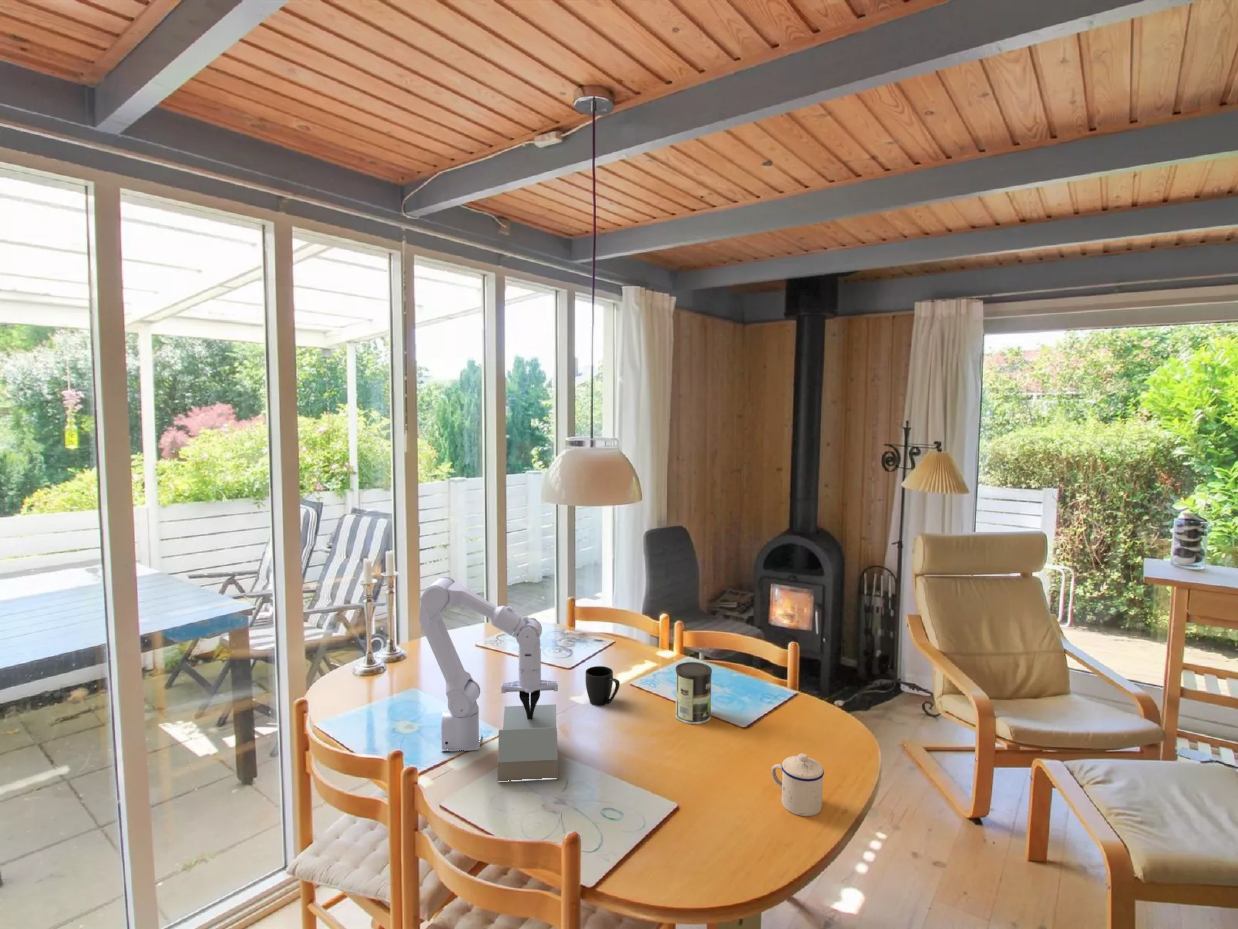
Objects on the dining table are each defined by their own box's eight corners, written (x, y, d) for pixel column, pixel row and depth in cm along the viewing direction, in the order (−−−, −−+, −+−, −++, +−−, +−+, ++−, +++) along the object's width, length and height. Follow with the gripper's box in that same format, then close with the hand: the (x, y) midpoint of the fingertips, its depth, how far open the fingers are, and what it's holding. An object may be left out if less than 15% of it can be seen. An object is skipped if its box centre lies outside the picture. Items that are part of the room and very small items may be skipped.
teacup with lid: (829, 804, 146) (831, 754, 145) (811, 823, 139) (813, 771, 138) (780, 783, 154) (781, 736, 153) (761, 801, 147) (762, 751, 146)
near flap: (498, 761, 153) (498, 762, 152) (498, 729, 154) (498, 730, 154) (556, 758, 154) (556, 759, 154) (556, 727, 156) (556, 727, 155)
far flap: (504, 706, 173) (504, 707, 174) (503, 730, 168) (503, 731, 168) (556, 704, 175) (556, 705, 175) (556, 727, 169) (556, 728, 169)
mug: (607, 715, 188) (607, 683, 187) (579, 701, 196) (579, 671, 196) (627, 706, 194) (627, 675, 193) (599, 693, 202) (600, 663, 201)
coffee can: (712, 709, 192) (712, 663, 191) (709, 726, 182) (710, 677, 181) (677, 706, 194) (677, 660, 193) (672, 722, 184) (673, 674, 183)
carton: (497, 782, 154) (497, 762, 153) (502, 751, 167) (502, 733, 167) (557, 779, 155) (557, 759, 155) (557, 749, 169) (557, 730, 168)
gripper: (500, 674, 164) (500, 726, 166) (558, 672, 166) (558, 723, 167) (502, 663, 171) (502, 713, 173) (557, 661, 173) (557, 711, 174)
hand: (530, 717), depth 170 cm, fingers closed
